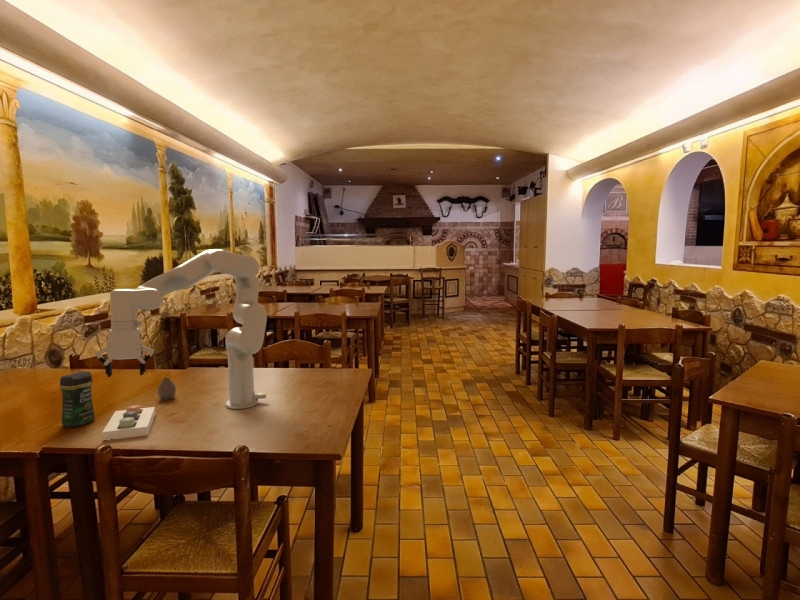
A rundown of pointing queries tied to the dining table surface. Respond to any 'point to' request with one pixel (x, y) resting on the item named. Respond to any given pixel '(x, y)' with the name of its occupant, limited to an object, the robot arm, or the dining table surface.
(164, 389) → the vase
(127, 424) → the button sage
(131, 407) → the button terracotta
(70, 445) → the dining table surface
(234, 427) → the dining table surface
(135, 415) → the button charcoal
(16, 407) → the dining table surface
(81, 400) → the coffee jar
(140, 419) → the button panel
